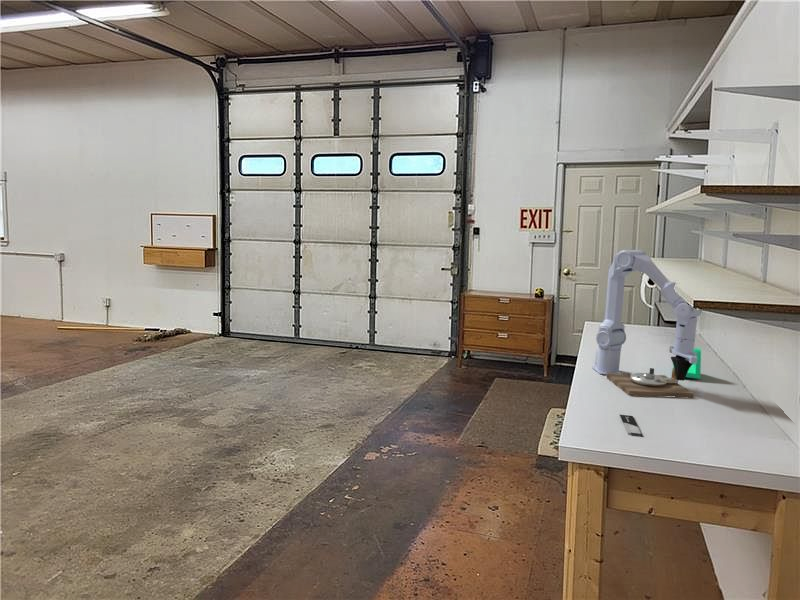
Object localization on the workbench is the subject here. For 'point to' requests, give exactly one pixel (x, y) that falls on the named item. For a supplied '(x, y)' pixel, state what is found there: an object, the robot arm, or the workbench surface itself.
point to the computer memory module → (631, 425)
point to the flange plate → (652, 379)
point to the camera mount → (695, 366)
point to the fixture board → (648, 387)
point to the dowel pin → (651, 371)
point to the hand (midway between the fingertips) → (680, 379)
